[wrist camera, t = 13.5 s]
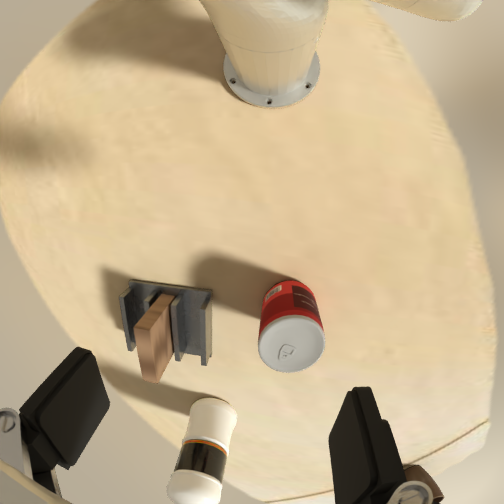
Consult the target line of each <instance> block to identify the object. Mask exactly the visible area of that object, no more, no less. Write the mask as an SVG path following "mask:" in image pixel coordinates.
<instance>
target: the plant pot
mask: <svg viewBox="0 0 504 504" xmlns="http://www.w3.org/2000/svg"><path fill="white" fill-rule="evenodd" d="M404 472H405V476H406V479H407V482H409V481H419V482H423V483H424V484H426V485H427V486H428V487H429V488H430V489H431V491H432V493H433V501H435V502H437V503H439V502H441V501H442V500H443V499H444V495H443V494H442V492H441V490H440V489H439V487H438V485H437V484H436V483H435V481H434V480H433V479H432V477H431V476H430V475H429V474H428V473H427V472H426V471H425V470H424V469H423V468H422V467H421V466H419V465H417V466H413V467H410V468H408V469H406V470H404Z"/></svg>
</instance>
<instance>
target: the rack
mask: <svg viewBox="0 0 504 504" xmlns="http://www.w3.org/2000/svg"><path fill="white" fill-rule="evenodd" d="M161 294H165V295H173V296H175V300H174V301H173V302H172V304H171V318H172V331H173V343H174V353H175V361H181V359H182V357H183V354H184V353H187V354H193V355H199V356H201V365H204V366H207V363H208V360H209V357H211V356H212V290H207V289H199V288H190V287H182V286H174V285H167V284H159V283H152V282H144V281H137V280H130V281H129V288H128V289H127V290H126V291H125V292H124V293H122V294H121V295H120V296H119V300H120V307H121V314H122V320H123V326H124V332H125V337H126V343H127V348H128V351H133V350H134V348H135V347H136V340H135V334H134V328H133V327H134V326H135V325H136V324H137V323H138V321H139V320H140V319H141V318H142V317H143V315H144V314H145V313H146V312H147V311H148V309H149V308H150V307H151V306H152V305H153V303H154V302H155V301H156V300H157V299H158V298H159V296H160V295H161Z"/></svg>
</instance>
